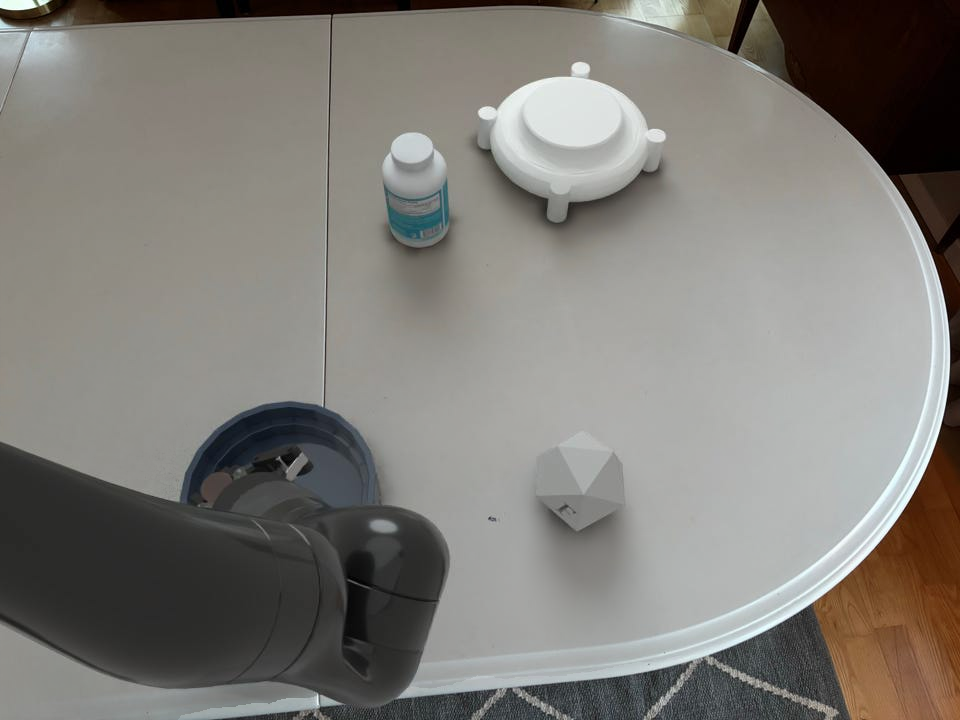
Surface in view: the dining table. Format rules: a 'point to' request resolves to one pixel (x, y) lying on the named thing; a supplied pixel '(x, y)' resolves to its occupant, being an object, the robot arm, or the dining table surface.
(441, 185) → the pill bottle
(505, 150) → the round stand with pegs
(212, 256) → the dining table surface
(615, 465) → the die
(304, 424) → the bowl
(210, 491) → the brown cylinder
